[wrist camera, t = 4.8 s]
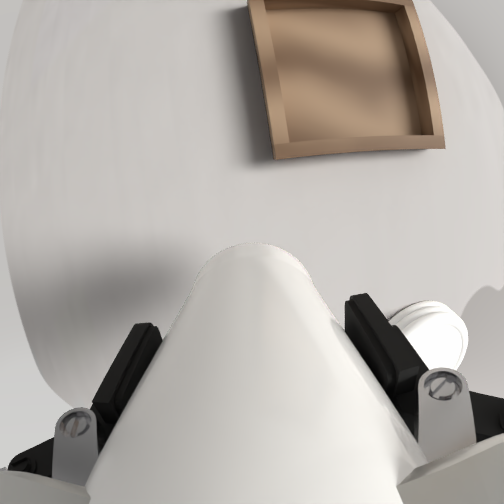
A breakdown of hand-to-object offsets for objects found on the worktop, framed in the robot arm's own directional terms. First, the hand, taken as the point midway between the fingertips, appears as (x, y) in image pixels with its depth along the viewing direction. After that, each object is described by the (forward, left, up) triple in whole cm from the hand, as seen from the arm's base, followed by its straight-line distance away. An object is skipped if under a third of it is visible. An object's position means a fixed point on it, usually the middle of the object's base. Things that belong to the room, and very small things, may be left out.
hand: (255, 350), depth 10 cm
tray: (-12, +9, -14) cm, 21 cm away
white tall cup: (0, 0, -4) cm, 4 cm away
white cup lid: (+13, +14, -14) cm, 24 cm away
